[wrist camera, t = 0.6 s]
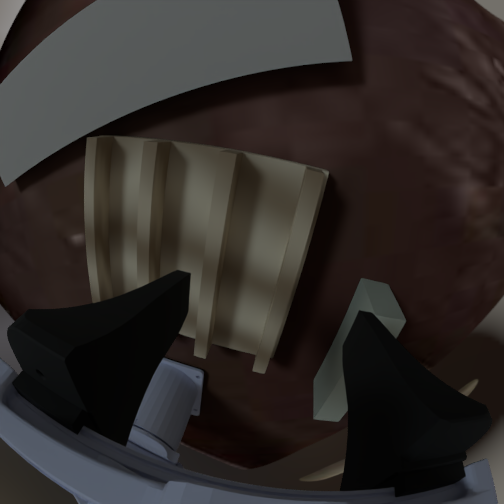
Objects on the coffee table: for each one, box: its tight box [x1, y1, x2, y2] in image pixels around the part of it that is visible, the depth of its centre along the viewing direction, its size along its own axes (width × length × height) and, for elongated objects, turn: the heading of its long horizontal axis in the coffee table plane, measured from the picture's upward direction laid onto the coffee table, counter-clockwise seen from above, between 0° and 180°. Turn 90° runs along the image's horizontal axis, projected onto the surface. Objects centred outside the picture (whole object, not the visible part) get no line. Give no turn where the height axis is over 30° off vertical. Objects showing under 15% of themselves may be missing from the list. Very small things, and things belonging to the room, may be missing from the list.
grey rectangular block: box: [0, 0, 352, 187], centre depth 15 cm, size 34×5×10 cm
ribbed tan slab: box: [84, 135, 329, 374], centre depth 20 cm, size 16×17×3 cm
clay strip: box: [314, 278, 406, 422], centre depth 20 cm, size 12×2×5 cm, turn 169°
